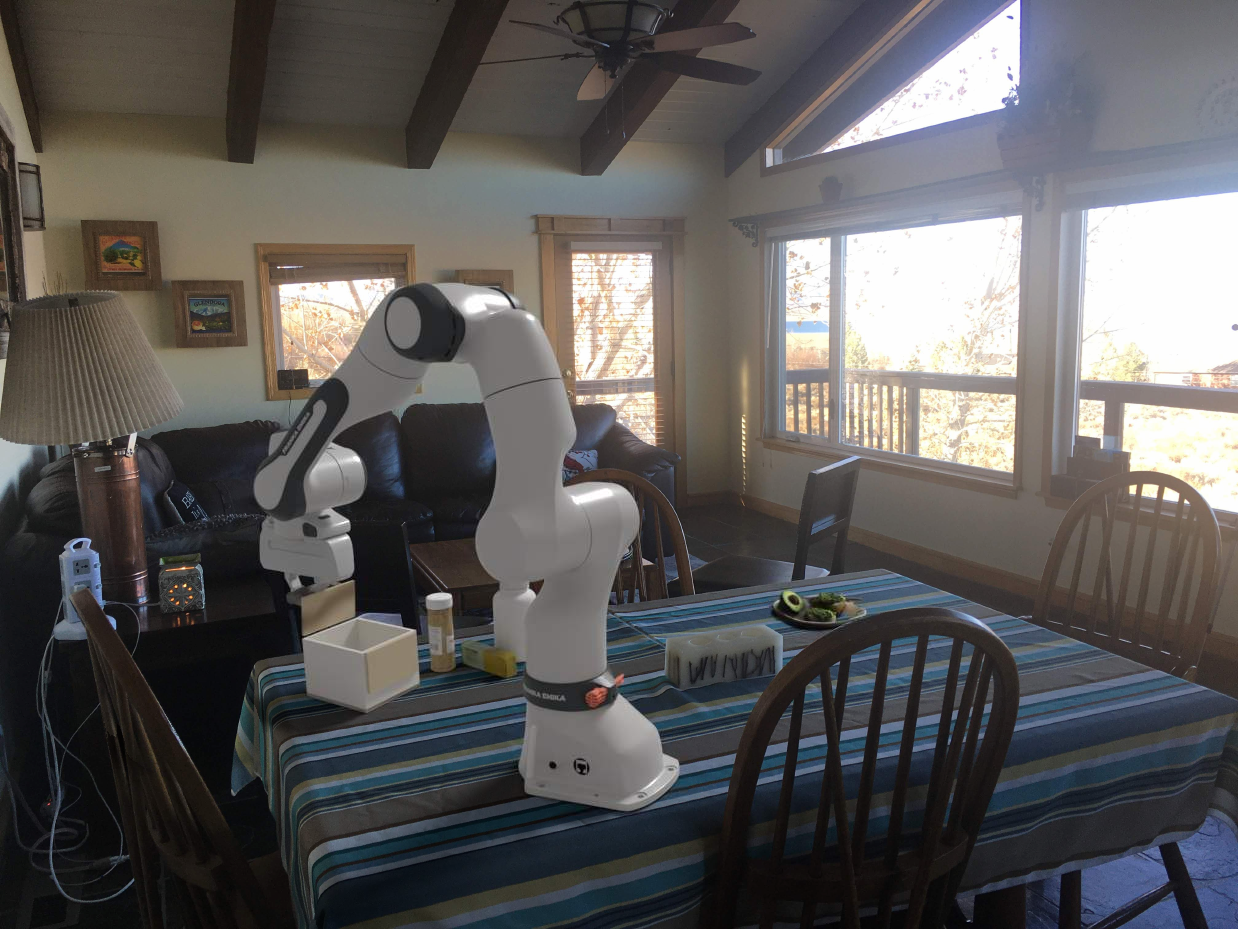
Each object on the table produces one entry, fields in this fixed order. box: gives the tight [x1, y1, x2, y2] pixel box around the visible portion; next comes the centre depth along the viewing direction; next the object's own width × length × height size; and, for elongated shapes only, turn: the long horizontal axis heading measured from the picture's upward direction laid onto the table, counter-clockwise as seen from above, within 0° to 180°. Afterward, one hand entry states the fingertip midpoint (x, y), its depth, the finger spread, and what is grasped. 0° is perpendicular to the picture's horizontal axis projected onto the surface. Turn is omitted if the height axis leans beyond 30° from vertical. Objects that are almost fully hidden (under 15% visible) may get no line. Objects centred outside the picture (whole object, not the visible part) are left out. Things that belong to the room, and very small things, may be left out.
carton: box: [301, 617, 421, 714], centre depth 155 cm, size 15×12×10 cm
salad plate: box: [771, 589, 868, 630], centre depth 189 cm, size 19×18×5 cm
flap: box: [285, 579, 356, 637], centre depth 158 cm, size 7×11×6 cm
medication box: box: [460, 639, 518, 679], centre depth 164 cm, size 12×3×4 cm, turn 50°
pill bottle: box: [492, 581, 537, 664], centre depth 169 cm, size 8×8×15 cm
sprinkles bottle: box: [425, 592, 457, 673], centre depth 164 cm, size 5×5×14 cm
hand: (308, 598), depth 160 cm, fingers open, 4 cm apart
